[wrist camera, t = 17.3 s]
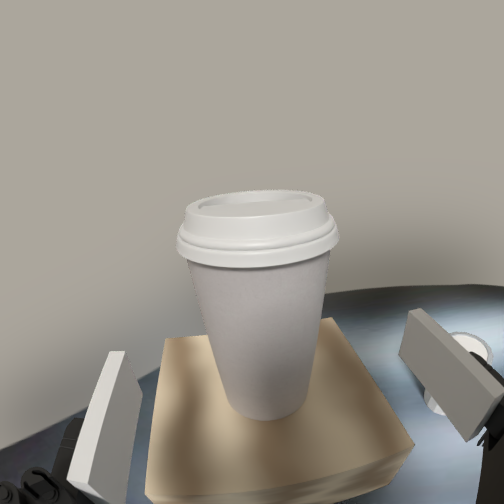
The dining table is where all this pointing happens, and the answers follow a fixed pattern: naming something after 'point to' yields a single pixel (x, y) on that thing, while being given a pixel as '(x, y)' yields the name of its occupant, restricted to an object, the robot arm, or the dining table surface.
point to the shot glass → (469, 344)
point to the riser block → (271, 433)
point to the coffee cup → (260, 291)
